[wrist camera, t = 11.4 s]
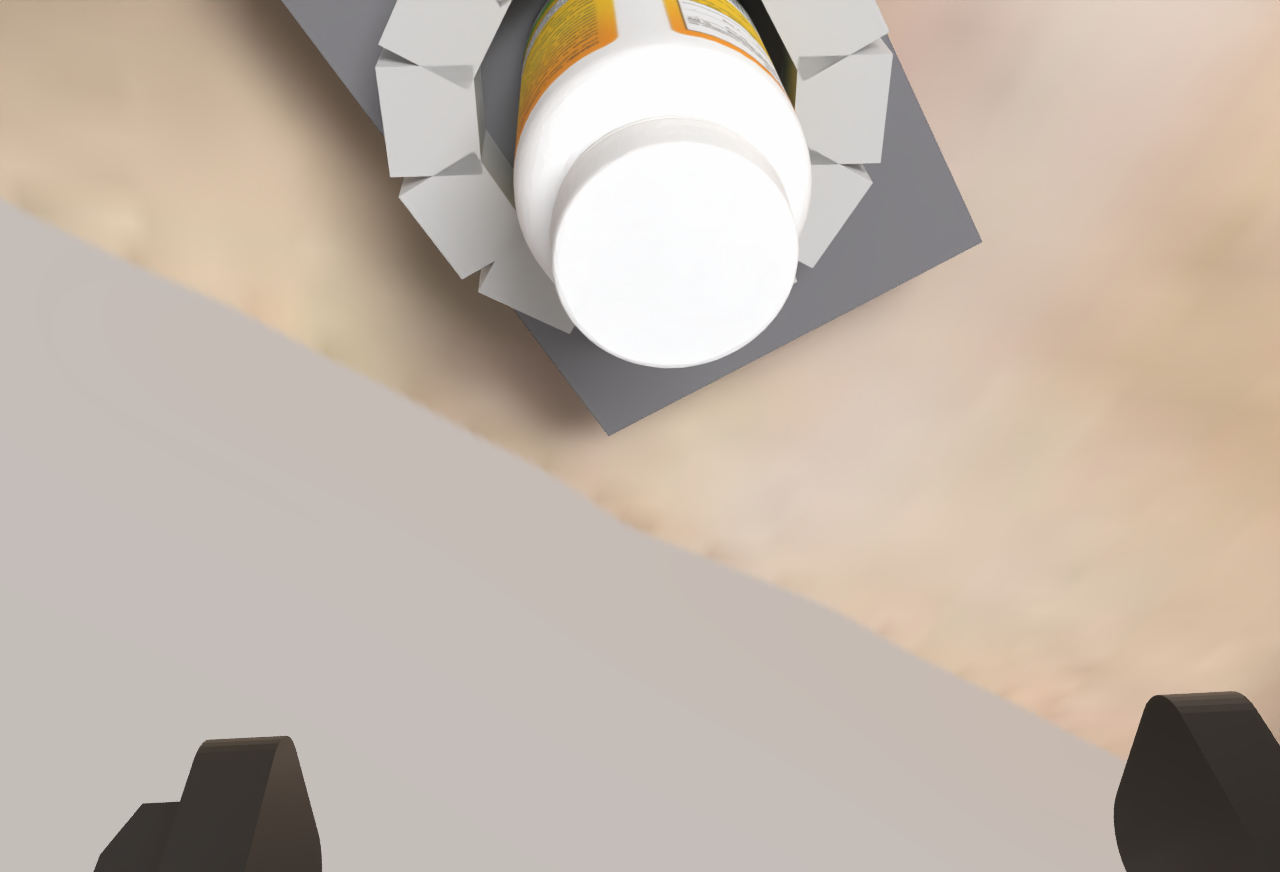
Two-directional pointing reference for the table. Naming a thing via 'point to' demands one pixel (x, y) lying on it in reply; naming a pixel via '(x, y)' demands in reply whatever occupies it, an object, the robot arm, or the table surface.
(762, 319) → the supplement bottle
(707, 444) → the table surface
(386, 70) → the camera body
